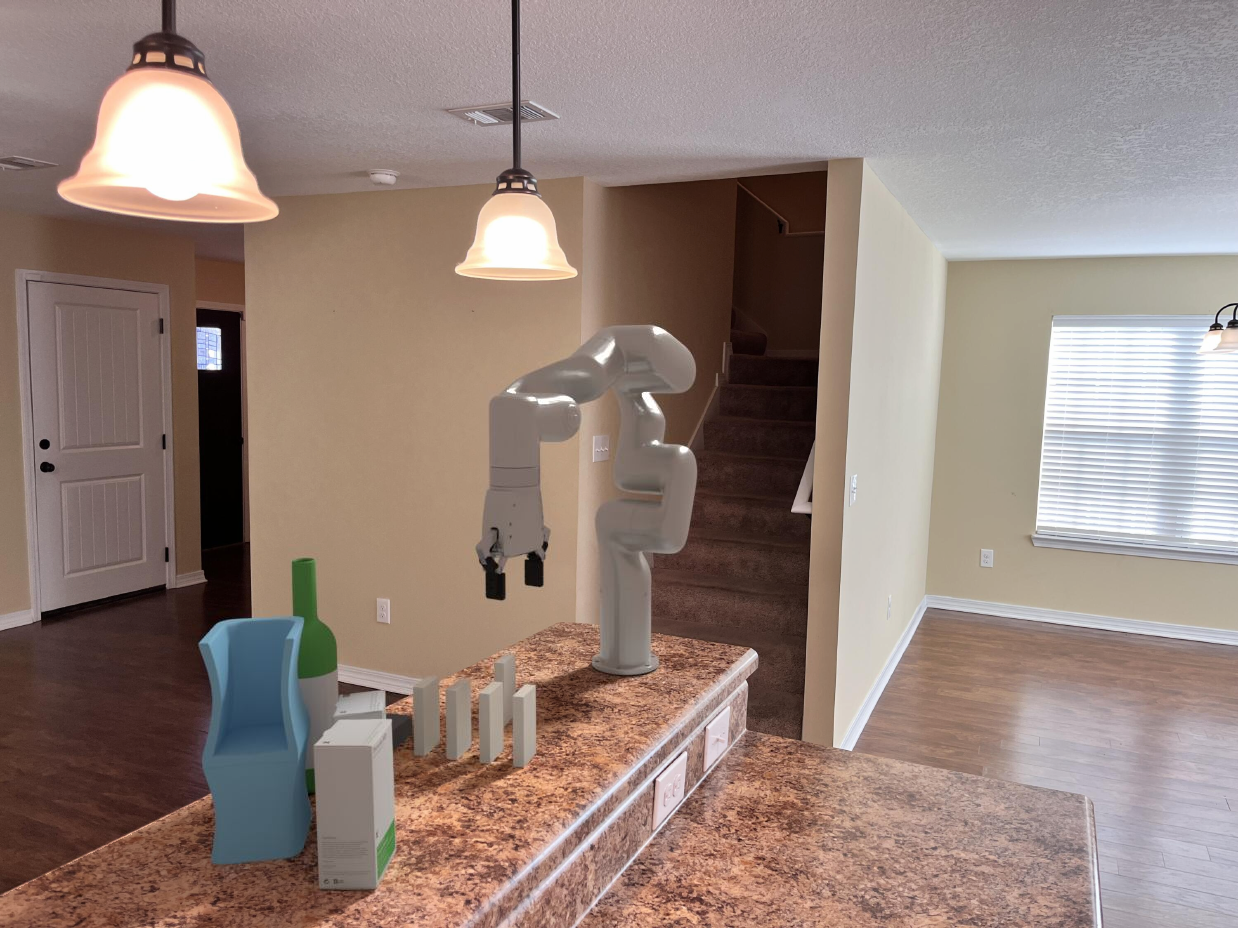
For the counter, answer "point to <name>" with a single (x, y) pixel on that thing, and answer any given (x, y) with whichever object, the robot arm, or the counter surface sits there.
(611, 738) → the counter surface
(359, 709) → the skincare box
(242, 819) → the blue chair
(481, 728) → the domino
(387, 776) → the skincare box
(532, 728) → the domino
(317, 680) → the wine bottle
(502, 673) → the domino
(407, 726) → the block
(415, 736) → the domino
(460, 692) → the domino
